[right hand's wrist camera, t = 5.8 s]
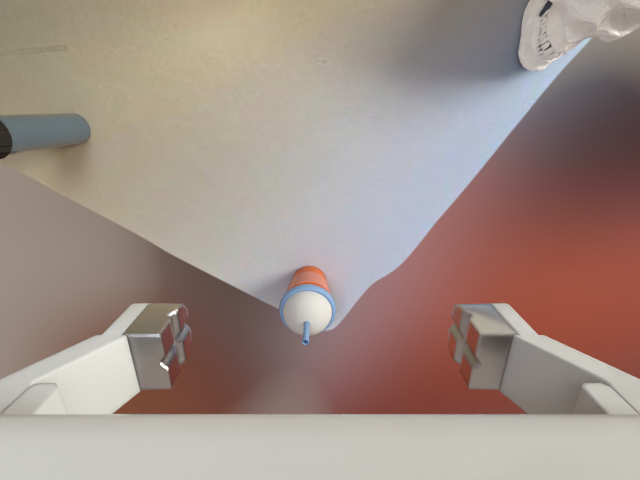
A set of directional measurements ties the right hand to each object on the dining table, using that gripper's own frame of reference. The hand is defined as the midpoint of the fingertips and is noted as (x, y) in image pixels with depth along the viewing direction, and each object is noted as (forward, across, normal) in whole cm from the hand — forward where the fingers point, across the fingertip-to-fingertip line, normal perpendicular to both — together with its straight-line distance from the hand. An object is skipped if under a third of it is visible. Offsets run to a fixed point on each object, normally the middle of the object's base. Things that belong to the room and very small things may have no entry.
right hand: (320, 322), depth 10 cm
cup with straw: (+48, +2, +24) cm, 54 cm away
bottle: (+48, +39, -3) cm, 62 cm away
